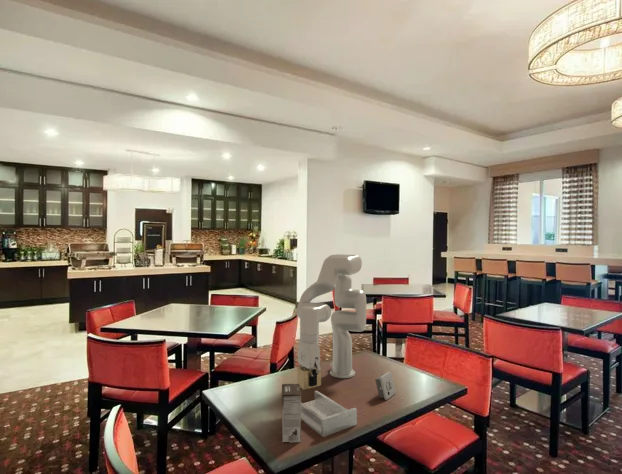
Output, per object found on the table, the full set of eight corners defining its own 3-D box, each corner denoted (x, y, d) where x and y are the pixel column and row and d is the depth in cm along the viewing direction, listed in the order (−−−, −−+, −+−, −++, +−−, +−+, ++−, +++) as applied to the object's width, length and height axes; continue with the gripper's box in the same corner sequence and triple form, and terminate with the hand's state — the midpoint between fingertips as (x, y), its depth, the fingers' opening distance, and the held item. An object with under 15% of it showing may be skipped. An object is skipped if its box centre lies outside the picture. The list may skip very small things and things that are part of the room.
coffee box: (281, 429, 129) (281, 383, 129) (299, 428, 130) (299, 382, 130) (281, 443, 120) (281, 394, 120) (301, 442, 120) (301, 393, 121)
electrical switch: (386, 401, 151) (384, 378, 152) (375, 398, 154) (373, 376, 155) (396, 393, 158) (394, 371, 159) (385, 391, 162) (384, 370, 162)
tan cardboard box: (297, 385, 144) (297, 367, 144) (313, 381, 148) (313, 363, 149) (304, 389, 140) (304, 371, 140) (321, 385, 144) (321, 367, 144)
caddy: (288, 409, 144) (288, 395, 144) (319, 400, 152) (319, 386, 152) (323, 437, 124) (323, 420, 124) (356, 424, 132) (356, 408, 132)
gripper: (290, 334, 150) (290, 378, 149) (313, 343, 135) (313, 392, 135) (305, 331, 154) (305, 375, 153) (329, 340, 139) (329, 388, 139)
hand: (309, 382), depth 144 cm, fingers closed on tan cardboard box, 5 cm apart
